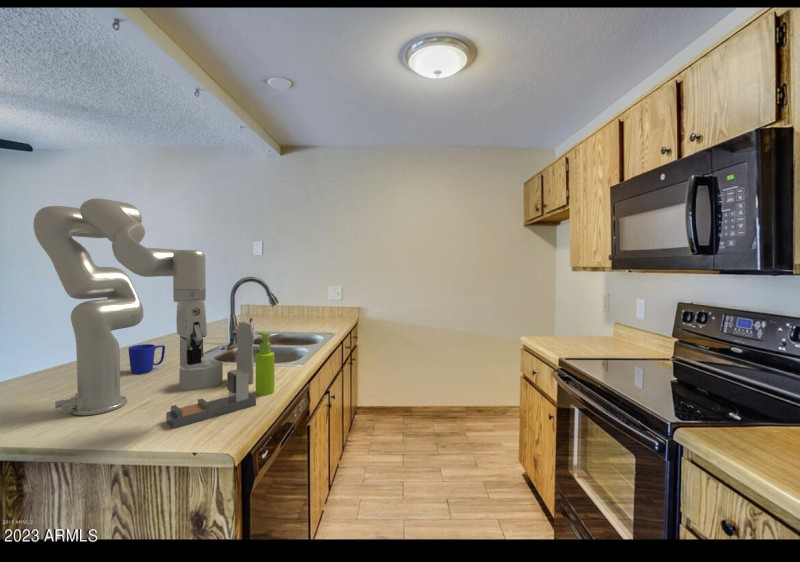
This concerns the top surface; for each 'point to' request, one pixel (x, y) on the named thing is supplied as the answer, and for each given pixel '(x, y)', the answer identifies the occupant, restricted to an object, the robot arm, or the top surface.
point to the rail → (215, 402)
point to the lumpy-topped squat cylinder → (201, 375)
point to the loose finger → (183, 354)
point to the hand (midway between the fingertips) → (190, 360)
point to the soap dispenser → (265, 367)
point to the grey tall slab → (245, 348)
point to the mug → (143, 358)
